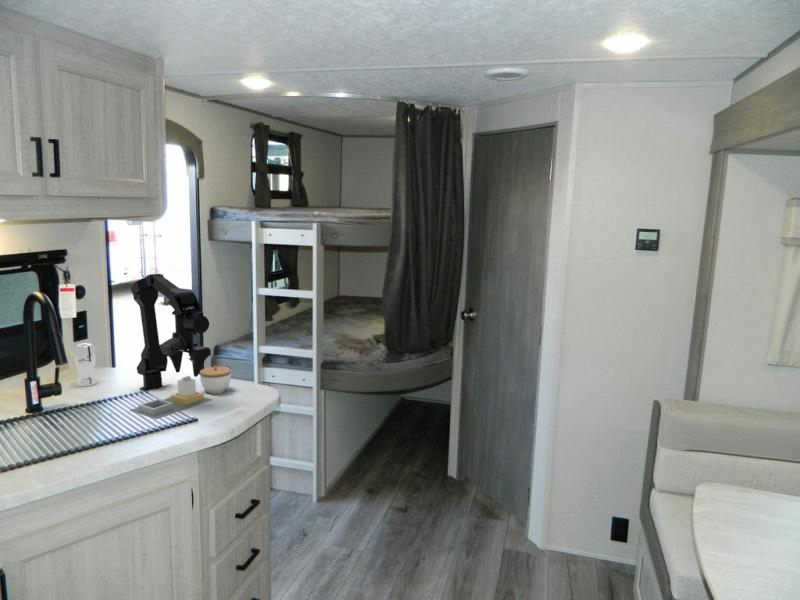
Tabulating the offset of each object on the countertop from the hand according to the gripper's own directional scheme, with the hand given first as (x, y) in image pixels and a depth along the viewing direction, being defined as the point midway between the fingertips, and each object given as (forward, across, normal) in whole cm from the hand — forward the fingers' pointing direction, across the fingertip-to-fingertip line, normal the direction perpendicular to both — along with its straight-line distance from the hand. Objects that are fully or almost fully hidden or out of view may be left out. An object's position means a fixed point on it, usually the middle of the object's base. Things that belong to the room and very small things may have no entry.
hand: (186, 374), depth 191 cm
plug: (+9, 0, 0) cm, 9 cm away
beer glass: (+10, -48, -7) cm, 50 cm away
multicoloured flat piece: (+10, 0, -6) cm, 12 cm away
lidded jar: (+10, -2, +14) cm, 18 cm away
